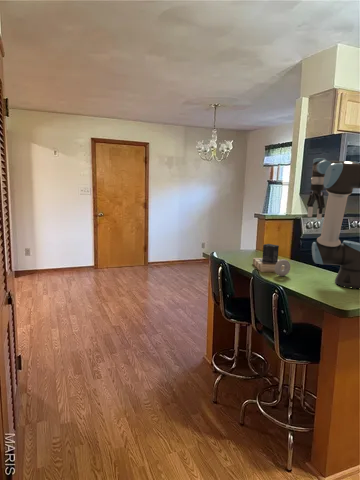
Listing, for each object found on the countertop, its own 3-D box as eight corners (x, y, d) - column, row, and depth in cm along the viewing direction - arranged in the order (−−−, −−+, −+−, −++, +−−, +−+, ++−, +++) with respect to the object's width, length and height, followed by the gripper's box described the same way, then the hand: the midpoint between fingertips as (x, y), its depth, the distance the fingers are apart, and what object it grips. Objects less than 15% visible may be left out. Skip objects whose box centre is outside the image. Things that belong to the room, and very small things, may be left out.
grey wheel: (287, 274, 191) (288, 258, 189) (291, 276, 188) (292, 259, 186) (272, 275, 188) (274, 259, 186) (276, 277, 185) (277, 260, 183)
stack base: (287, 272, 196) (287, 265, 195) (261, 272, 195) (261, 265, 195) (276, 264, 216) (277, 257, 215) (252, 263, 215) (253, 257, 214)
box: (277, 262, 203) (279, 245, 202) (272, 263, 200) (273, 246, 198) (267, 259, 209) (268, 243, 208) (261, 260, 206) (263, 244, 204)
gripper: (303, 183, 214) (300, 215, 218) (320, 184, 190) (317, 220, 193) (314, 184, 214) (311, 216, 218) (333, 184, 190) (329, 220, 194)
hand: (314, 218), depth 206 cm, fingers open, 13 cm apart
